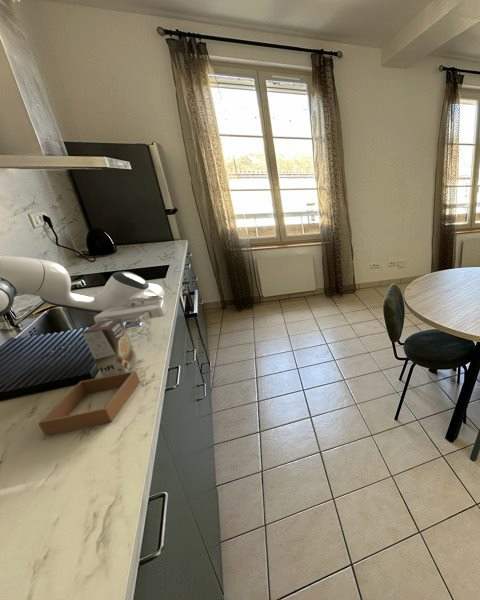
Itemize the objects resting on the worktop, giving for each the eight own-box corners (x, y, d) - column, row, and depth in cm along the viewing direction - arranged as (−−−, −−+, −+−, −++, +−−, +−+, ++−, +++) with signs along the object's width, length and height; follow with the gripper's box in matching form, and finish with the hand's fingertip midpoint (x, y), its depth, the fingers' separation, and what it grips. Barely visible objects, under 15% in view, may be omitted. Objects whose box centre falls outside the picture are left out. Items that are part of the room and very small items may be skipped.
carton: (45, 436, 79) (37, 423, 77) (86, 392, 94) (80, 381, 93) (111, 421, 82) (105, 409, 81) (140, 381, 98) (135, 370, 96)
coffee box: (127, 375, 102) (106, 329, 95) (103, 380, 100) (80, 333, 94) (139, 360, 110) (121, 317, 104) (117, 364, 108) (97, 320, 102)
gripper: (102, 304, 117) (80, 320, 105) (167, 294, 122) (153, 309, 110) (110, 319, 119) (89, 337, 107) (172, 310, 124) (160, 326, 112)
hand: (122, 323), depth 109 cm, fingers open, 8 cm apart
